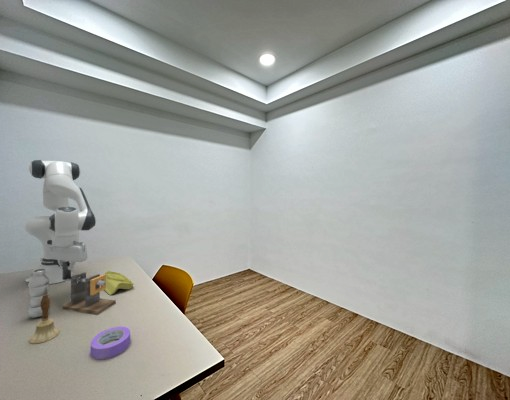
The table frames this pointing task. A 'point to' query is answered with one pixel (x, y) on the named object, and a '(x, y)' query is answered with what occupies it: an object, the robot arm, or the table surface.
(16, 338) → the table surface
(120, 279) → the plastic component
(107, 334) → the masking tape
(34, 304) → the plastic bottle
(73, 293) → the shaft frame
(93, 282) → the frame
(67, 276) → the shaft
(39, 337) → the hand bell
